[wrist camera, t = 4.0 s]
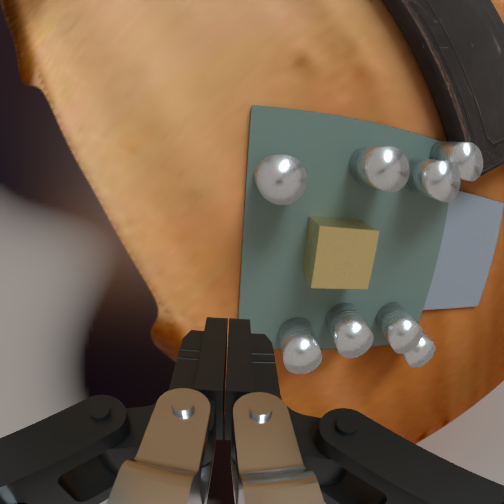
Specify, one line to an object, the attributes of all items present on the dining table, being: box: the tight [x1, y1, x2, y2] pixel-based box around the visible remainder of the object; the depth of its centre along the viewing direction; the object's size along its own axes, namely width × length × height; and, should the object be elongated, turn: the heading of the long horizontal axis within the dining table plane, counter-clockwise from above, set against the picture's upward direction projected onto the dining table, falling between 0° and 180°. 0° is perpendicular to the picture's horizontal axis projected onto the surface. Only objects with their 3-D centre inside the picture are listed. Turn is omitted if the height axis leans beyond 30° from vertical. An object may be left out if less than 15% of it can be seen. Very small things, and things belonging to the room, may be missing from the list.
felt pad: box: [423, 191, 504, 310], centre depth 23 cm, size 9×12×1 cm
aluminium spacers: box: [254, 141, 483, 374], centre depth 20 cm, size 18×20×4 cm
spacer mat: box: [238, 106, 449, 349], centre depth 23 cm, size 18×20×1 cm
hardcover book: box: [383, 0, 504, 176], centre depth 15 cm, size 16×23×2 cm
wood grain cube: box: [302, 216, 379, 289], centre depth 21 cm, size 4×4×3 cm
